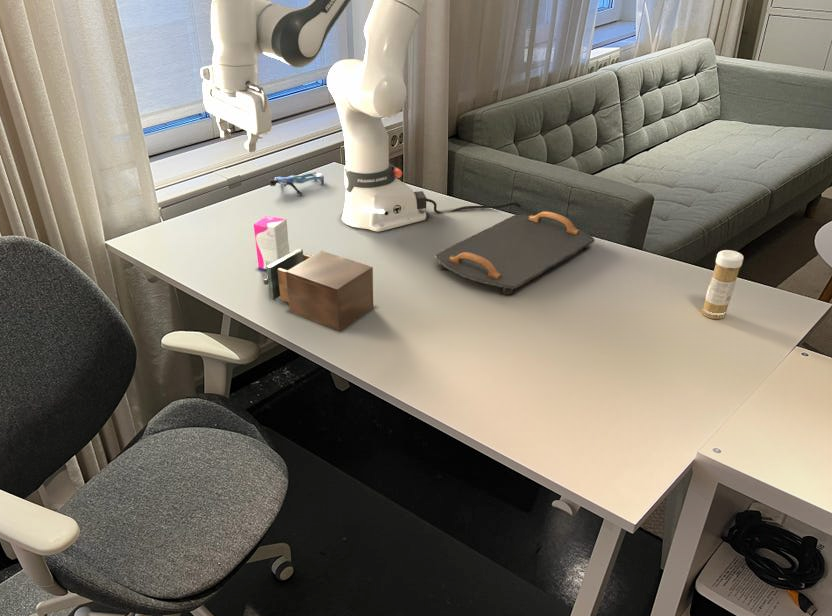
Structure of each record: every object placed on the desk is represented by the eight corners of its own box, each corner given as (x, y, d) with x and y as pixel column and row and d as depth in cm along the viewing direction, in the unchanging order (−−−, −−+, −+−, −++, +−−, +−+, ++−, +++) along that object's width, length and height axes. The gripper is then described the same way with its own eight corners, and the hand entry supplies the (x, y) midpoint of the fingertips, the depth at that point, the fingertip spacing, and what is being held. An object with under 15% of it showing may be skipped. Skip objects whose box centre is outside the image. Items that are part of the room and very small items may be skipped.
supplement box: (291, 263, 169) (287, 218, 162) (279, 273, 165) (274, 228, 158) (270, 259, 171) (265, 214, 165) (257, 269, 167) (252, 224, 160)
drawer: (257, 293, 155) (253, 261, 151) (288, 275, 162) (286, 244, 157) (313, 315, 147) (311, 282, 142) (344, 295, 153) (343, 262, 149)
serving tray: (522, 220, 185) (524, 197, 181) (602, 245, 171) (606, 222, 167) (423, 270, 164) (424, 246, 160) (505, 304, 149) (508, 278, 146)
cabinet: (289, 311, 150) (285, 271, 145) (324, 289, 157) (321, 250, 152) (339, 331, 143) (337, 289, 138) (373, 307, 150) (372, 266, 145)
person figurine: (311, 182, 217) (259, 188, 207) (311, 168, 215) (260, 173, 205) (331, 192, 210) (278, 199, 200) (332, 177, 207) (279, 183, 198)
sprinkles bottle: (712, 306, 146) (729, 247, 138) (730, 316, 142) (749, 256, 135) (695, 312, 144) (712, 252, 137) (714, 322, 141) (732, 261, 133)
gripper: (279, 86, 138) (279, 156, 146) (221, 64, 150) (224, 129, 158) (252, 90, 134) (253, 161, 142) (195, 67, 146) (199, 133, 154)
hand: (237, 144), depth 150 cm, fingers open, 8 cm apart
